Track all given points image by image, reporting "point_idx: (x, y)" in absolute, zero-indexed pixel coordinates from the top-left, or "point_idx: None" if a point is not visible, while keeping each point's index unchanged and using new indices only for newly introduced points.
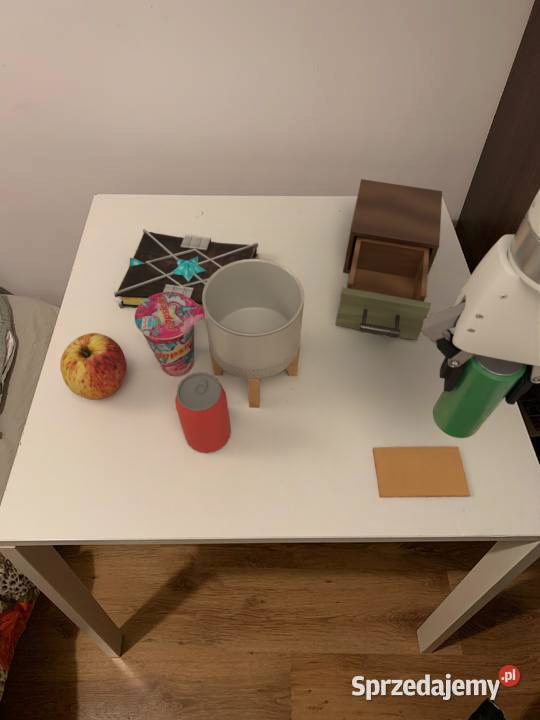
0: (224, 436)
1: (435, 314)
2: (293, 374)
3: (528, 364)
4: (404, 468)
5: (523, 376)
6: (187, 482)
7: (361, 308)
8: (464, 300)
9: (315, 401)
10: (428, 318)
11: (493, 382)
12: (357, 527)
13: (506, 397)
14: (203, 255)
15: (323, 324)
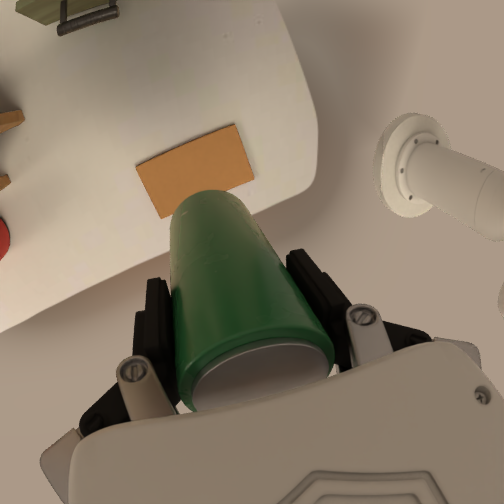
0: (2, 248)
1: (58, 495)
2: (20, 122)
3: (339, 349)
4: (177, 177)
5: None
6: (12, 279)
7: (56, 2)
8: (88, 486)
9: (54, 139)
10: (50, 480)
11: None
12: (151, 253)
13: None
14: None
15: (34, 31)
